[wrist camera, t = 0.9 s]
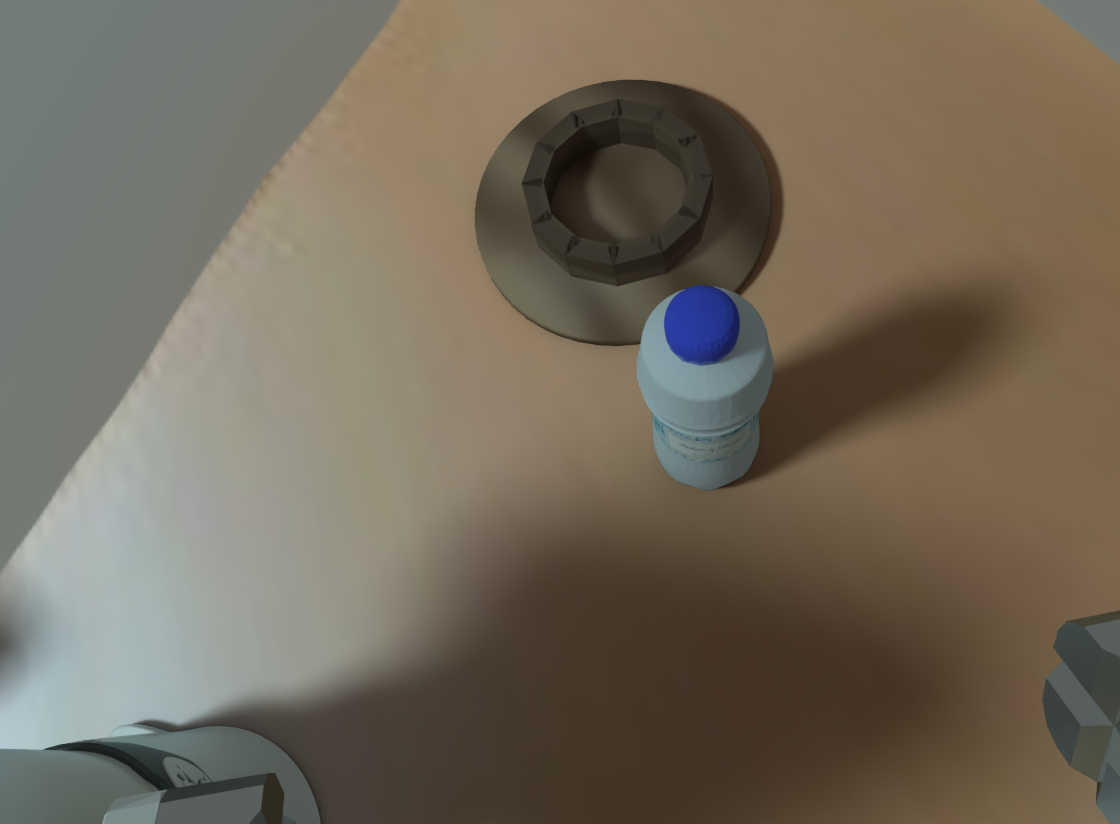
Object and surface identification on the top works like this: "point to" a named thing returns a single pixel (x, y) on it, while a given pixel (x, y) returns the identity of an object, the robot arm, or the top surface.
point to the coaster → (620, 207)
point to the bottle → (705, 383)
